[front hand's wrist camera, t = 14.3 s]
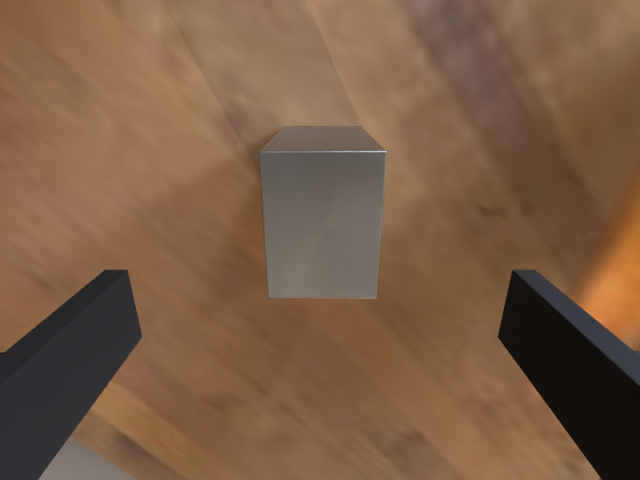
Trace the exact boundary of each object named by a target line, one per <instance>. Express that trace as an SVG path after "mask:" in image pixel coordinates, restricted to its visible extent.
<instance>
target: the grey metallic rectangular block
mask: <svg viewBox="0 0 640 480" xmlns="http://www.w3.org/2000/svg"><path fill="white" fill-rule="evenodd" d="M386 156H387V152H386V151H385V150H384V149H383V148H382V147H381V146H380V145H379V144H378V143H377V142H376V141H375V140H374V139H373V138H372V137H371V136H370V135H369V134H368V133H367V132H366V131H365V130H364V129H363V128H362V127H361V126H283V127H282V128H281V129H280V130H279V131H278V133H277V134H276V135H275V136H274V137H273V138H272V139H271V140H270V141H269V142H268V143H267V144H266V145H265V146H264V147H263V148H262V149H261V150H260V151H259V164H260V180H261V196H262V212H263V227H264V243H265V259H266V275H267V290H268V298H321V299H376V298H377V287H378V272H379V258H380V243H381V229H382V214H383V200H384V185H385V171H386Z"/></svg>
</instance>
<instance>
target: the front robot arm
mask: <svg viewBox="0 0 640 480" xmlns="http://www.w3.org/2000/svg"><path fill="white" fill-rule="evenodd" d="M141 338H142V334H141V329H140V325H139V320H138V316H137V311H136V306H135V302H134V297H133V293H132V288H131V283H130V279H129V274H128V270H104V271H103V272H102V273H101V274H99V275H98V276H97V277H96V278H95V279H93V280H92V281H91V282H90V283H89V284H87V285H86V286H85V287H84V288H82V289H81V290H80V291H79V292H78V293H76V294H75V295H74V296H73V297H71V298H70V299H69V300H68V301H67V302H65V303H64V304H63V305H62V306H60V307H59V308H58V309H57V310H56V311H54V312H53V313H52V314H51V315H50V316H48V317H47V318H46V319H45V320H43V321H42V322H41V323H40V324H39V325H37V326H36V327H35V328H34V329H32V330H31V331H30V332H29V333H28V334H26V335H25V336H24V337H23V338H22V339H20V340H19V341H18V342H17V343H15V344H14V345H13V346H12V347H11V348H9V349H8V350H7V351H6V352H1V353H0V480H38V479H39V478H40V476H41V475H42V473H43V472H44V471H45V469H46V468H47V467H48V465H49V464H50V462H51V461H52V460H53V458H54V457H55V456H56V454H57V453H58V451H59V450H60V449H61V447H62V446H63V445H64V443H65V442H66V441H67V439H68V438H69V436H70V435H71V434H72V432H73V431H74V430H75V428H76V427H77V425H78V424H79V423H80V421H81V420H82V419H83V417H84V416H85V415H86V413H87V412H88V410H89V409H90V408H91V406H92V405H93V404H94V402H95V401H96V399H97V398H98V397H99V395H100V394H101V393H102V391H103V390H104V389H105V387H106V386H107V384H108V383H109V382H110V380H111V379H112V378H113V376H114V375H115V373H116V372H117V371H118V369H119V368H120V367H121V365H122V364H123V363H124V361H125V360H126V358H127V357H128V356H129V354H130V353H131V352H132V350H133V349H134V347H135V346H136V345H137V343H138V342H139V341H140V339H141ZM498 338H499V339H500V341H501V342H502V343H503V345H504V346H505V347H506V349H507V350H508V352H509V353H510V354H511V356H512V357H513V358H514V360H515V361H516V363H517V364H518V365H519V367H520V368H521V369H522V371H523V372H524V373H525V375H526V376H527V378H528V379H529V380H530V382H531V383H532V384H533V386H534V387H535V389H536V390H537V391H538V393H539V394H540V395H541V397H542V398H543V399H544V401H545V402H546V404H547V405H548V406H549V408H550V409H551V410H552V412H553V413H554V415H555V416H556V417H557V419H558V420H559V421H560V423H561V424H562V425H563V427H564V428H565V430H566V431H567V432H568V434H569V435H570V436H571V438H572V439H573V441H574V442H575V443H576V445H577V446H578V447H579V449H580V450H581V451H582V453H583V454H584V456H585V457H586V458H587V460H588V461H589V462H590V464H591V465H592V467H593V468H594V469H595V471H596V472H597V473H598V475H599V476H600V478H601V479H602V480H640V351H633V350H632V349H631V348H629V347H628V346H627V345H626V344H625V343H623V342H622V341H621V340H620V339H618V338H617V337H616V336H615V335H614V334H612V333H611V332H610V331H609V330H608V329H606V328H605V327H604V326H603V325H601V324H600V323H599V322H598V321H597V320H595V319H594V318H593V317H592V316H590V315H589V314H588V313H587V312H586V311H584V310H583V309H582V308H581V307H580V306H578V305H577V304H576V303H575V302H573V301H572V300H571V299H570V298H569V297H567V296H566V295H565V294H564V293H562V292H561V291H560V290H559V289H558V288H556V287H555V286H554V285H553V284H551V283H550V282H549V281H548V280H547V279H545V278H544V277H543V276H542V275H541V274H539V273H538V272H537V271H536V270H512V274H511V279H510V283H509V288H508V293H507V297H506V302H505V306H504V311H503V316H502V320H501V325H500V329H499V334H498Z"/></svg>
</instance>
